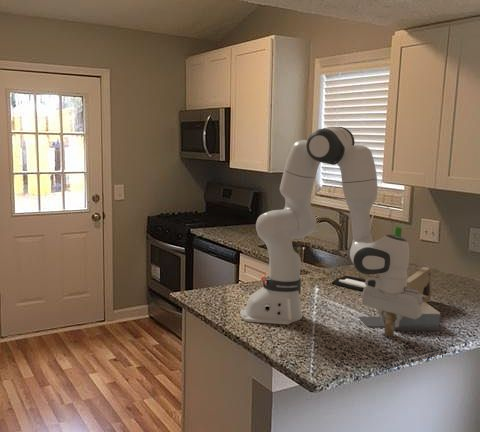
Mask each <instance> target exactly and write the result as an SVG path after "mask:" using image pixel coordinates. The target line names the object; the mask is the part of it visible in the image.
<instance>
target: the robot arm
mask: <svg viewBox="0 0 480 432" xmlns="http://www.w3.org/2000/svg"><path fill="white" fill-rule="evenodd" d="M320 164H328V165H333V166H336V165H337V166H338V167H339V170H340V175H341V184H342V191H343V195H344V199H345V202H346V205H347V208H348V210H349V211H348V212H349V215H350V224H351V225H350V226H351V242H350V244H349V247H348V259H349V261H350V262H351V263H352V264H353V267H354V268H355V269H356V270H357V272H359V273H361V274H363V275H367V276H368V275H377V276H373V277H370V278H366V279H365V285H366V286H365V287H364V290H363V292H362V296H361V302H362V304H363V306H365V307H369V308H372V309H376V310H377V313H378V315H379V316H380V318H381V323H384V324H385V315H384V312H385V311H386V312H390V313H393V314H396V317H397V320H395V321H393V324H392V326H394V327H399V321H400V320H401V319H402V318H403V316H404V317H408V318H411V319H417V318H419V317H421V315H422V295H423V294H421V293H420V292H419V291H418V290H413V289H410V288H407V278H409V276H408V275H409V274H408V272H407V271H408V267H409V264H410V262H409V261H410V245H409V243H408V241H407V240H406V239H405V238H404V237H402V236H401V237H399V236H395V235H394V234H385V235H384V236H383V237H381V238H379V239H377V240H375V241H374V240H373V238H372V233H371V232H372V231H371V230H372V229H371V218H370V217H371V214H370V213H371V209H372V206H373V205H374V203H375V202H376V201H377V199H378V198H377V197H378V175H377V169H376V163H375V160H374V157H373V153H372V151H371V149H370V148H369V147H367V146H366V145H365V146H364V145H360V144H359V145H358V144H357V145H355V137H354V135H353V133H352V132H351V131H350V130H349V129H347V128H345V127H343V126H327V127H325V128H319V129H317V130H315V131H314V132H312V133H311V134H310V135H309V136H308V138H307V140H306V139H301V140H297V141H295V142H294V143H293V145H292V146H291V149H290V151H289V153H288V156H287V158H286V162H285V165H284V169H283V172H282V177H281V182H280V184H279V192H280V194H281V196H282V197H283V198H284V201H285V203H284V204H285V205H284V207H283V209H275V210H274V209H273V210H269V211H266V212H264V213H262V214H260V215H259V216H258V217H257V220H256V222H255V230H256V233H257V236H258V237H259V238H260V240H261V241H263V242H264V244H265V246H266V249H267V252H268V258H269V260H268V261H269V262H268V263H269V267H268V276H267V277H266V276H265V275H261V277H260V280H261V282H262V287H260V288H259V289H258V290H256V291H254V292H253V293H251V294H250V296H248V299H247V301H246V306H243V307H241V308H240V311H239V315H240V318H241V319H242V320H243V321H245V322H249V323H262V324H275V325H291V323H294V322H297V321H300V320H301V319H303V314H302V308H301V301H300V300H301V299H300V298H301V297H300V294H301V290H302V279H301V262H302V260H301V256H300V255H299V254H298V253H297V252H296V251H295V250H294V246H293V240H297V239H298V240H299V239H303V238H306V237H307V236H310V235H311V234H313V233H314V232H315V231H316V228H317V226H318V225H317V218H316V215H315V213H314V212H313V210H312V205H311V204H312V202H311V200H312V194H313V193H312V192H313V189H314V184H315V180H316V178H317V173H318V170H319V169H318V168H319V166H320ZM378 275H379V276H378ZM418 293H419V294H418ZM379 316H378V317H379Z"/></svg>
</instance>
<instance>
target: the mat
mask: <svg viewBox="0 0 480 432" xmlns="http://www.w3.org/2000/svg"><path fill="white" fill-rule="evenodd" d="M358 318H359V319H360V321H362V323H363V324H364V325H365V326H366V328H385V324H384V323H381V318H380V317H379V316H361V315H359V316H358Z"/></svg>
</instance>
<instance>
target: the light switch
mask: <svg viewBox="0 0 480 432" xmlns="http://www.w3.org/2000/svg"><path fill="white" fill-rule="evenodd" d="M365 280H366V278H360V277H356V276H351V275H343V276H341V277H338V278H336V279H333V281H332V282H331V285H333V286H337V287H340V288H345V289H348V290H352V291H356V292H361V293H363V290H364V287H365V286H366V285H365Z"/></svg>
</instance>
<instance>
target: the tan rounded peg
mask: <svg viewBox="0 0 480 432" xmlns="http://www.w3.org/2000/svg"><path fill="white" fill-rule="evenodd" d="M393 321H395V314H393V313H390V312H386V317H385V327H384V332H383V335H384V336H385V337H391V338H392V337H394V333H395V332H394V326H392V324H393Z"/></svg>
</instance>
